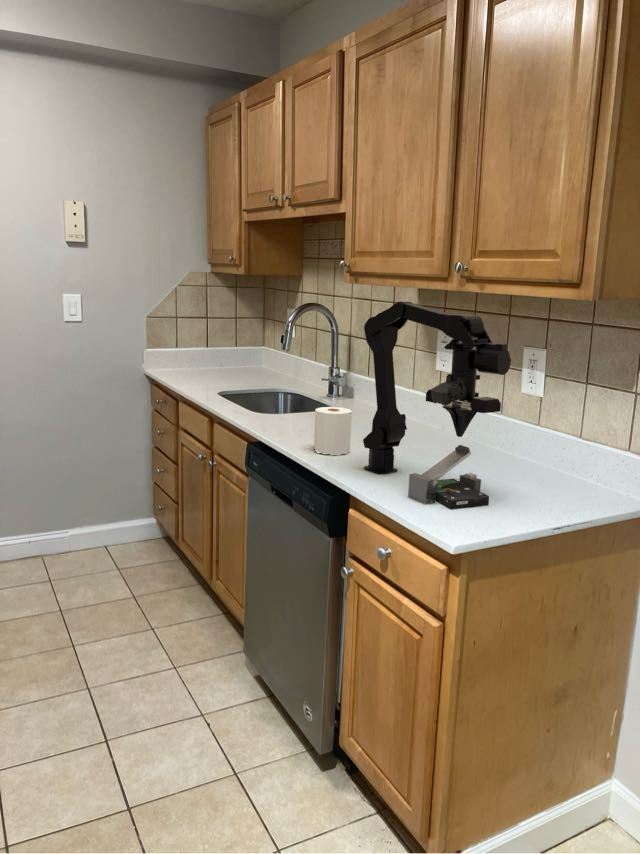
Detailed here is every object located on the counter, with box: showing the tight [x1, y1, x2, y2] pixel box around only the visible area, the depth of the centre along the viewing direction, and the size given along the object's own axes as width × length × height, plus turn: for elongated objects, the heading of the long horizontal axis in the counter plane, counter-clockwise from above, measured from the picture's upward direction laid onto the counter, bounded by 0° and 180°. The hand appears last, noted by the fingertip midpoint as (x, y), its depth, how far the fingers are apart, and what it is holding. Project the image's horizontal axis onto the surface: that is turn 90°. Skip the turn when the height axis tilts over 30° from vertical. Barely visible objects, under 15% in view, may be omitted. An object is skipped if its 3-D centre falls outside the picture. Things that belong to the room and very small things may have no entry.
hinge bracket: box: [407, 472, 438, 505], centre depth 161 cm, size 7×3×6 cm, turn 34°
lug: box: [459, 472, 482, 492], centre depth 170 cm, size 5×2×4 cm, turn 34°
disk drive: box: [435, 478, 490, 511], centre depth 164 cm, size 10×3×15 cm
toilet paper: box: [313, 406, 353, 456], centre depth 201 cm, size 10×10×12 cm
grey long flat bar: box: [421, 444, 472, 480], centre depth 164 cm, size 4×13×2 cm, turn 124°
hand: (459, 436), depth 166 cm, fingers closed
